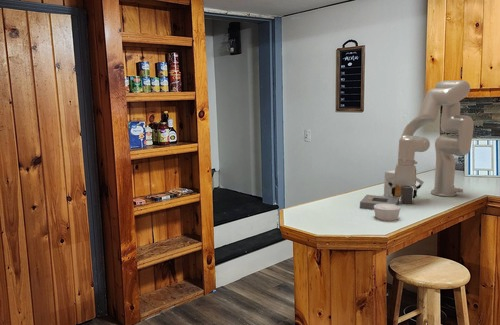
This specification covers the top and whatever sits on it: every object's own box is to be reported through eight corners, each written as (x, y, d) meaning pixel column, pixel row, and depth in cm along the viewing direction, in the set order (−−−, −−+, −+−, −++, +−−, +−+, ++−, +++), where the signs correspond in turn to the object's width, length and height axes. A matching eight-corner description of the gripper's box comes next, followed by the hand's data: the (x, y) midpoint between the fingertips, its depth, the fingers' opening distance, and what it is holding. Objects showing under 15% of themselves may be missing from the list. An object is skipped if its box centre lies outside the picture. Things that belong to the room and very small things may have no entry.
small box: (393, 197, 228) (394, 173, 226) (383, 195, 233) (384, 171, 231) (403, 195, 232) (404, 171, 230) (393, 193, 238) (394, 169, 235)
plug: (411, 202, 219) (411, 185, 218) (412, 204, 214) (413, 187, 213) (400, 201, 220) (401, 185, 219) (401, 204, 216) (402, 187, 214)
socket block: (399, 203, 216) (399, 197, 216) (394, 211, 202) (395, 204, 202) (366, 200, 223) (366, 194, 223) (359, 208, 209) (360, 201, 209)
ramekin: (368, 218, 193) (369, 206, 193) (381, 213, 201) (381, 201, 200) (392, 223, 186) (392, 211, 185) (404, 217, 193) (404, 206, 192)
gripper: (425, 162, 213) (423, 197, 216) (388, 160, 221) (386, 193, 224) (424, 165, 207) (421, 200, 210) (386, 162, 214) (384, 196, 217)
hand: (403, 196), depth 217 cm, fingers open, 9 cm apart
